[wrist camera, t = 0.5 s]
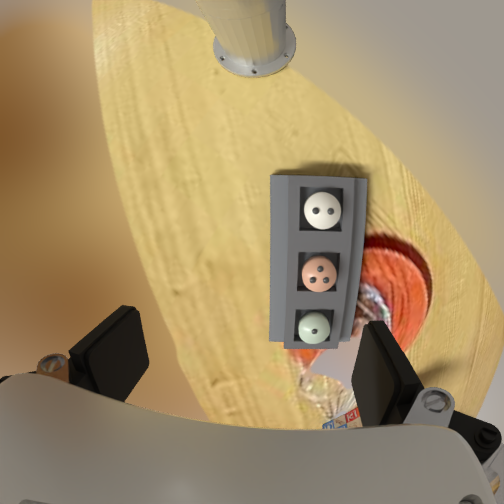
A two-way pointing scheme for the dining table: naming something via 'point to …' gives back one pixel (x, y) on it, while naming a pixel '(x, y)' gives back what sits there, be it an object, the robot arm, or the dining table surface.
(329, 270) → the button three
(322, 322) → the button one
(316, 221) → the button two
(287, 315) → the button board
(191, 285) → the dining table surface
